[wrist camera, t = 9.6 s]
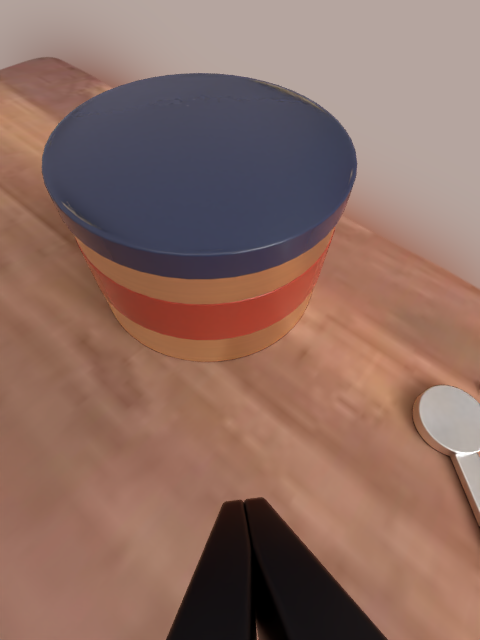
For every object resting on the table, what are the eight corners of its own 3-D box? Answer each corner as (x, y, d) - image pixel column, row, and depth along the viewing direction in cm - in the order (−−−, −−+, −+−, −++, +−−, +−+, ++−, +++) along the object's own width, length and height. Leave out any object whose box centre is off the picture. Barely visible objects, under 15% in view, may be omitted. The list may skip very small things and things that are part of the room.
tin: (358, 292, 23) (424, 171, 15) (169, 412, 18) (128, 321, 11) (236, 180, 29) (240, 53, 21) (70, 247, 24) (-1, 115, 17)
